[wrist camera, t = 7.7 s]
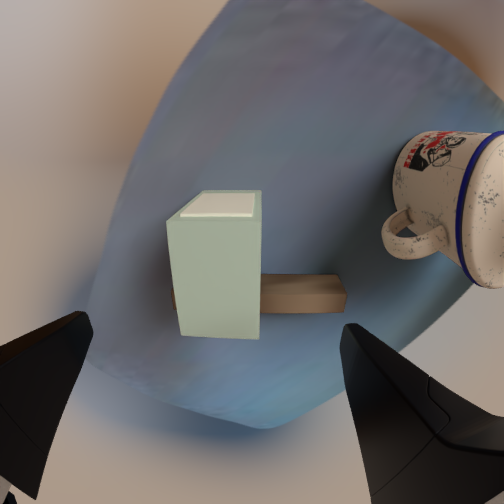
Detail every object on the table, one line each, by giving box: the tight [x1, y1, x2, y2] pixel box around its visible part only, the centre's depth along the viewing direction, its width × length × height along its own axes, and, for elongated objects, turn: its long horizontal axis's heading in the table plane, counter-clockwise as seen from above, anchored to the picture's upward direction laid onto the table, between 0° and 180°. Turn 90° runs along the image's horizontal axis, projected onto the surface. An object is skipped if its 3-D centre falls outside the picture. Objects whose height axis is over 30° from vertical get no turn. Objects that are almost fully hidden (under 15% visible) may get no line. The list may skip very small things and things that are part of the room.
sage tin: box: [166, 190, 261, 339], centre depth 16 cm, size 4×6×8 cm, turn 0°
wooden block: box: [171, 274, 347, 313], centre depth 20 cm, size 12×2×3 cm, turn 90°
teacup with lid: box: [381, 131, 504, 289], centre depth 13 cm, size 12×9×12 cm
